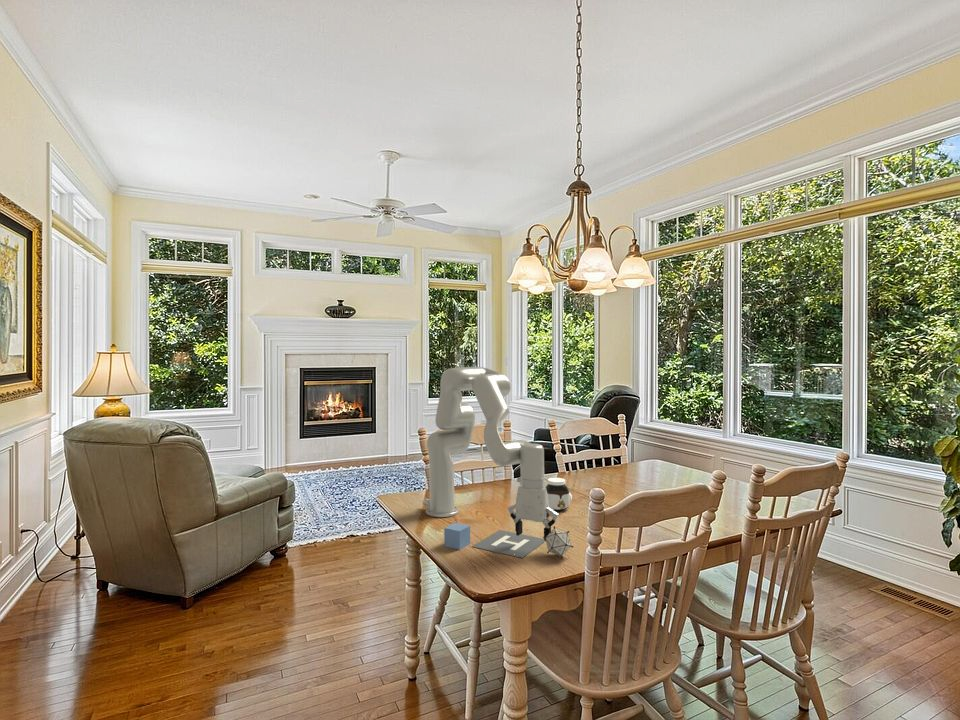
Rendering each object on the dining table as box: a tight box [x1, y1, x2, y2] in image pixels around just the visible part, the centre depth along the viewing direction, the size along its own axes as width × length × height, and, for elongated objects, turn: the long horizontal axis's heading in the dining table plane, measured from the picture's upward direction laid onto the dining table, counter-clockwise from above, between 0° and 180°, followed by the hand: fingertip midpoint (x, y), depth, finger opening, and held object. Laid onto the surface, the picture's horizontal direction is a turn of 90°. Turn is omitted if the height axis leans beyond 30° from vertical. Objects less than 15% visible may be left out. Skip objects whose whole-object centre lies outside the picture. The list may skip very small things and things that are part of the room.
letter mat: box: [472, 529, 546, 559], centre depth 172 cm, size 18×18×1 cm
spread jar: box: [544, 477, 573, 513], centre depth 210 cm, size 12×11×12 cm
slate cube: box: [443, 522, 471, 551], centre depth 171 cm, size 6×6×6 cm
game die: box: [542, 525, 574, 559], centre depth 161 cm, size 9×8×10 cm
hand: (533, 536), depth 168 cm, fingers open, 9 cm apart
